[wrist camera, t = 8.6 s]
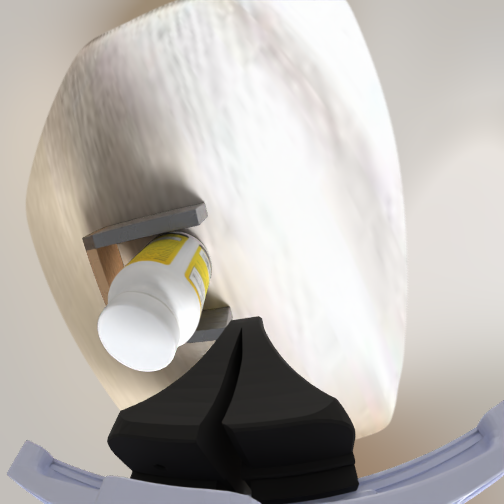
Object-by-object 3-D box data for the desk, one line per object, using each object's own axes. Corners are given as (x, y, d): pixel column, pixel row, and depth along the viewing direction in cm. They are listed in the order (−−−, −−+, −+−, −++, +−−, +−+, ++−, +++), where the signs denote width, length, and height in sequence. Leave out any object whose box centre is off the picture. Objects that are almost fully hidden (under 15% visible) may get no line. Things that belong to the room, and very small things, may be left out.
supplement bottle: (133, 268, 20) (71, 337, 11) (169, 215, 19) (109, 260, 10) (187, 308, 21) (157, 396, 12) (227, 259, 20) (215, 338, 11)
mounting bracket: (232, 317, 22) (229, 338, 19) (137, 327, 22) (124, 346, 20) (204, 202, 19) (195, 209, 16) (102, 228, 20) (82, 238, 17)
